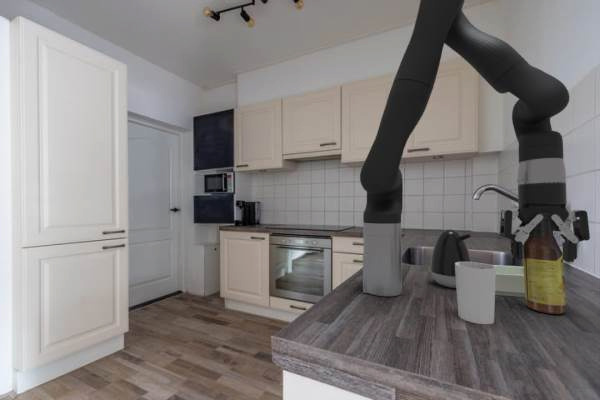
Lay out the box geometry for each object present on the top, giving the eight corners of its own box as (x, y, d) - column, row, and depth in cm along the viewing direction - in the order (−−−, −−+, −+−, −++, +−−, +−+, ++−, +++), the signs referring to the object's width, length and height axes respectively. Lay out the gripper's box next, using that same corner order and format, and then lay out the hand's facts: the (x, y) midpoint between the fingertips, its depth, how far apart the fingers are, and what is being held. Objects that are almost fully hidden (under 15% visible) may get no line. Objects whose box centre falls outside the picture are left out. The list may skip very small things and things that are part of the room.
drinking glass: (471, 309, 56) (470, 260, 56) (506, 322, 49) (504, 267, 50) (447, 313, 53) (446, 263, 54) (480, 327, 47) (479, 270, 47)
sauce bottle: (574, 317, 52) (571, 213, 52) (537, 314, 53) (534, 213, 54) (550, 305, 58) (548, 213, 59) (517, 303, 59) (515, 213, 60)
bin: (490, 294, 65) (489, 273, 65) (473, 281, 77) (473, 263, 77) (550, 299, 62) (550, 277, 62) (524, 285, 73) (523, 266, 73)
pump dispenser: (460, 293, 66) (458, 231, 67) (422, 283, 75) (421, 228, 76) (482, 287, 71) (481, 229, 72) (444, 278, 80) (443, 227, 81)
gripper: (508, 181, 55) (510, 261, 54) (597, 179, 51) (601, 266, 50) (494, 184, 62) (495, 255, 62) (571, 183, 58) (573, 258, 57)
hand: (543, 260), depth 56 cm, fingers open, 8 cm apart
